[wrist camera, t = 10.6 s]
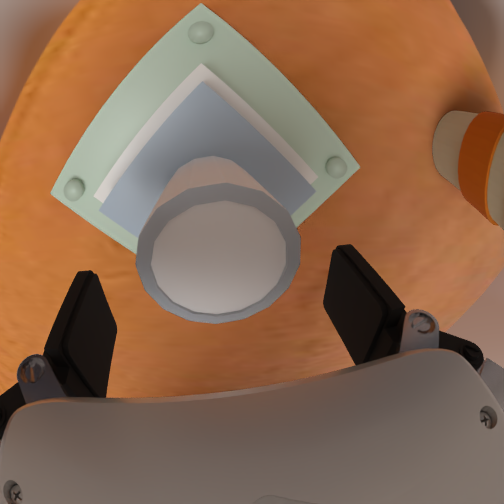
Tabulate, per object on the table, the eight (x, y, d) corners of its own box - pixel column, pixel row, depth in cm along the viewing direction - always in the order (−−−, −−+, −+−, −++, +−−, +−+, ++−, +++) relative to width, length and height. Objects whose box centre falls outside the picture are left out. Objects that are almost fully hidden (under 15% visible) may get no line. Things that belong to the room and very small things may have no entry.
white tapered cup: (285, 175, 17) (333, 227, 11) (233, 261, 20) (252, 338, 14) (182, 126, 14) (173, 152, 9) (139, 227, 17) (117, 301, 11)
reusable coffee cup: (436, 77, 21) (554, 109, 8) (488, 120, 24) (575, 161, 12) (408, 178, 27) (511, 251, 14) (463, 200, 30) (541, 260, 18)
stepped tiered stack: (214, 296, 30) (221, 347, 25) (54, 189, 20) (18, 224, 15) (355, 164, 25) (398, 190, 19) (200, 6, 15) (203, -25, 9)
